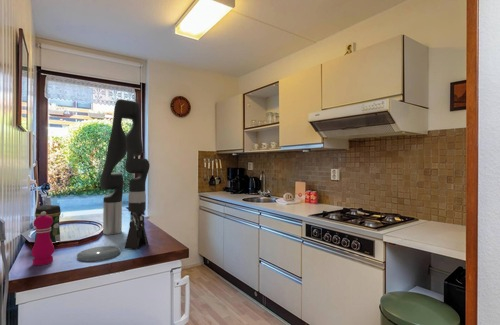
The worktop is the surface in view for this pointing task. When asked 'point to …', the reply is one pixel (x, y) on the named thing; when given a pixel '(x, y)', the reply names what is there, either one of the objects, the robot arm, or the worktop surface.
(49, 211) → the coffee jar
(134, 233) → the door stopper
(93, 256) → the dish
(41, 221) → the pepper mill
